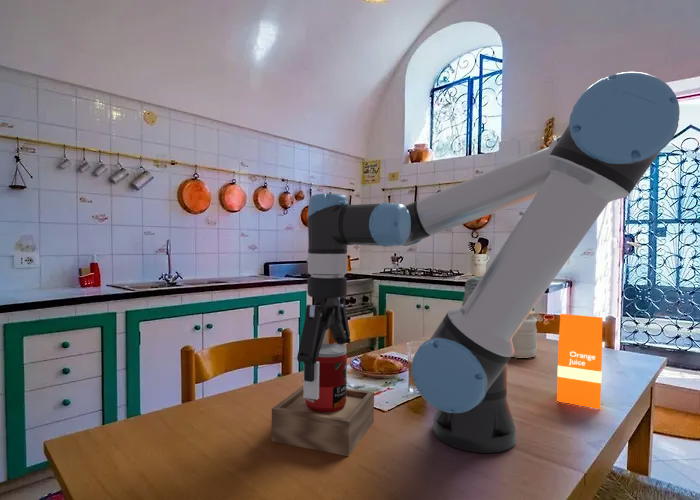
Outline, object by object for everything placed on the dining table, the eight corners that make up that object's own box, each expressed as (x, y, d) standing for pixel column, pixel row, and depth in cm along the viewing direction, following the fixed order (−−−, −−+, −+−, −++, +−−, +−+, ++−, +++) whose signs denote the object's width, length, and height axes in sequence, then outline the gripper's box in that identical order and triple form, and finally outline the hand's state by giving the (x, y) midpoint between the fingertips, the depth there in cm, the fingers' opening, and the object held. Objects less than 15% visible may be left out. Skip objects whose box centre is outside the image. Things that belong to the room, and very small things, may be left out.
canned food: (341, 415, 78) (342, 355, 78) (299, 411, 79) (300, 352, 79) (350, 399, 85) (350, 344, 85) (311, 396, 87) (312, 342, 87)
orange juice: (559, 392, 106) (561, 311, 105) (600, 399, 101) (603, 315, 101) (556, 402, 99) (558, 316, 98) (600, 410, 94) (603, 320, 94)
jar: (490, 348, 147) (491, 297, 147) (530, 349, 146) (531, 298, 145) (498, 358, 135) (499, 302, 134) (541, 360, 133) (543, 304, 132)
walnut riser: (373, 421, 87) (374, 392, 87) (348, 456, 73) (349, 421, 73) (306, 410, 92) (307, 382, 92) (271, 441, 78) (271, 408, 78)
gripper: (333, 270, 95) (332, 365, 95) (277, 280, 71) (276, 406, 72) (365, 271, 92) (364, 369, 93) (318, 282, 69) (317, 413, 69)
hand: (326, 385), depth 82 cm, fingers open, 13 cm apart
